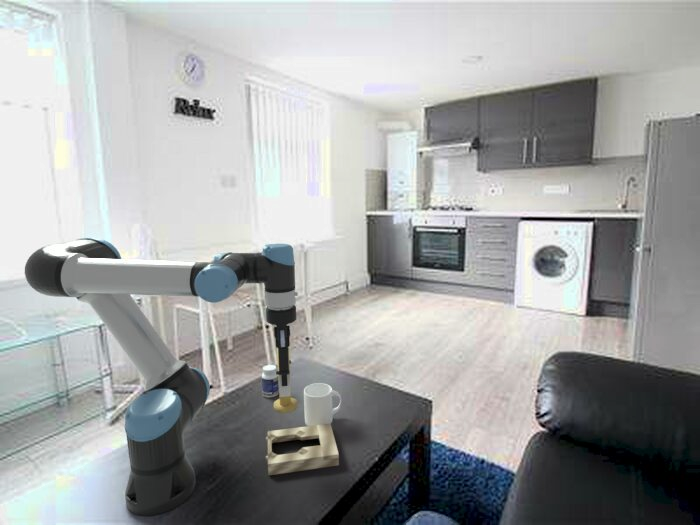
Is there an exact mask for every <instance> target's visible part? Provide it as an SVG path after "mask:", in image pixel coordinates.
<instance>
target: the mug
mask: <svg viewBox="0 0 700 525" xmlns="http://www.w3.org/2000/svg"><path fill="white" fill-rule="evenodd" d="M333 397H338V398H339V404H338V406H337V407H334V408H333ZM341 404H342V396H341V394H340V392H338V391H337V390H333V388H332V386H331V385H329V384H327V383H322V382H317V383H311V384H308V385H306V386H305V387H304V388H303V405H304V406H303V407H304V408H303V409H304V413H303V414H304V423H305V426H314V425H322V424H331V425H332V423H333V415H334V414H336V413H338V412H339V410H340V408H341Z"/></svg>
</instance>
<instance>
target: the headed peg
mask: <svg viewBox="0 0 700 525" xmlns="http://www.w3.org/2000/svg"><path fill="white" fill-rule="evenodd" d="M276 354H277V356H276V357H277V359H276V360H277V371H279V358H278V348H277V347H276ZM288 357H289V358H290V347H288ZM290 366H291V364H290V363H289V371H290V373H289V374H290V375H291V367H290ZM278 380H279V374H278ZM291 385H292V384H290V396H286V397H280V392H279V393H278V395H279V396H278V397H279V398H278V399H276V400H275V401H274V402H273V410H274V411H275V412H277V413H279V414H289V413H293V412H294V411H296V410H297V409H298V406H299V405H298V400H297V399H296V398H294V397H292V391H291V389H292V388H291Z"/></svg>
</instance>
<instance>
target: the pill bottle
mask: <svg viewBox="0 0 700 525" xmlns="http://www.w3.org/2000/svg"><path fill="white" fill-rule="evenodd" d="M276 371H278V367H277V366H276V365H275V364H267V365H264V366H263V367H262V373H261V392H262V396H263V397H265V398H274V397H276V396H278V395H279V379H278V375H276Z"/></svg>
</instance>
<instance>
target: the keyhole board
mask: <svg viewBox="0 0 700 525" xmlns="http://www.w3.org/2000/svg"><path fill="white" fill-rule="evenodd" d="M332 427H333V426H332V423H331V424H322V425H314V426H307V425H305V426H299V427H293V428H291V427H290V428H284V429H274V430H268V431H267V436H266V437H265V442H267V455H265V461H266V462H267V471H268V472H267V474H268V475H267V476H273V475H280V474H288V473H295V472H300V471H308V470H315V469H323V468H330V467H335V466H339V465H340V455H339V449H338V446H337V443H336V439H335V435H334V432H333V428H332ZM315 439H318V441H319V444H320V445H313V446H312V445H311V446H303V447H301V448H300V449H299V450H297V452H291V453H289V452H288V453H284V454H277V453H274V452H273V444H275V443H282V442H283V443H284V442H292V441H297V440H298V441H299V440H300V441H306V440H307V441H308V440H315Z"/></svg>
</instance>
